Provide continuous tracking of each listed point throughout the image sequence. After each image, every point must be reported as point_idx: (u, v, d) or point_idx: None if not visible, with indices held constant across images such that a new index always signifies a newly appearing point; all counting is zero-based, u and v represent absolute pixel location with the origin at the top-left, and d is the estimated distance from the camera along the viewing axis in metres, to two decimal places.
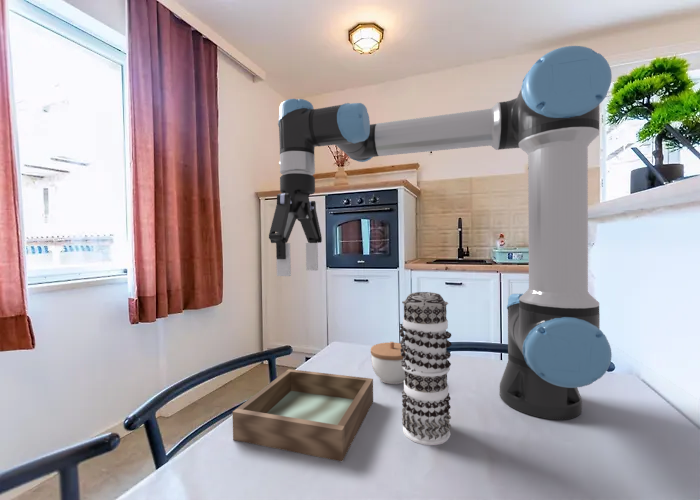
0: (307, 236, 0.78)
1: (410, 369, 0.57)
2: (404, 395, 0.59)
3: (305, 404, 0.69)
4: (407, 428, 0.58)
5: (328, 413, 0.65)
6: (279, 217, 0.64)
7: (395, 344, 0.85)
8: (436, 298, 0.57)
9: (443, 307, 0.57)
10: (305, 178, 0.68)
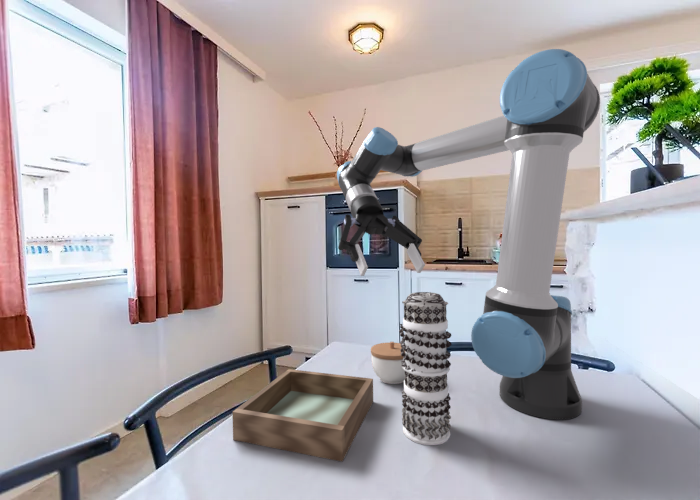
0: (403, 245, 0.77)
1: (410, 369, 0.57)
2: (404, 395, 0.59)
3: (305, 404, 0.69)
4: (407, 428, 0.58)
5: (328, 413, 0.65)
6: None
7: (395, 344, 0.85)
8: (436, 298, 0.57)
9: (443, 307, 0.57)
10: (361, 199, 0.79)
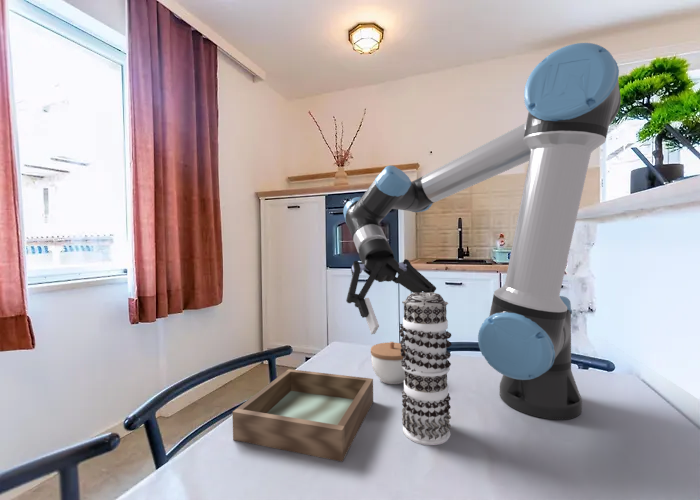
0: None
1: (410, 369, 0.57)
2: (404, 395, 0.59)
3: (305, 404, 0.69)
4: (407, 428, 0.58)
5: (328, 413, 0.65)
6: (351, 282, 0.68)
7: (395, 344, 0.85)
8: (436, 298, 0.57)
9: (443, 307, 0.57)
10: (370, 243, 0.74)
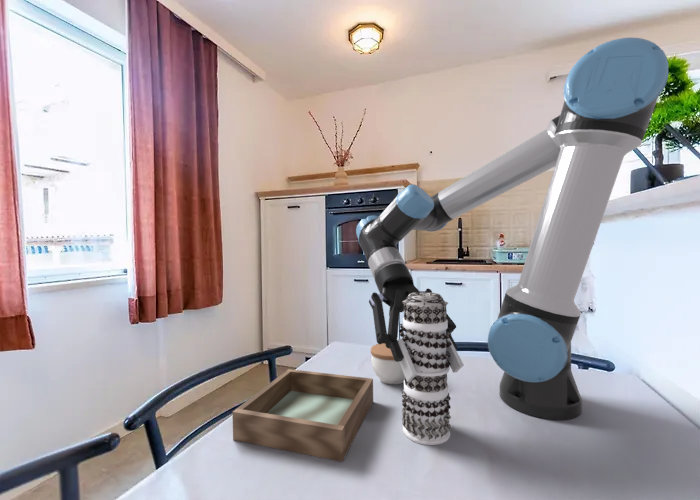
0: None
1: None
2: (404, 395, 0.59)
3: (305, 404, 0.69)
4: (407, 428, 0.58)
5: (328, 413, 0.65)
6: (376, 319, 0.61)
7: None
8: (436, 298, 0.57)
9: (443, 307, 0.57)
10: (388, 268, 0.67)
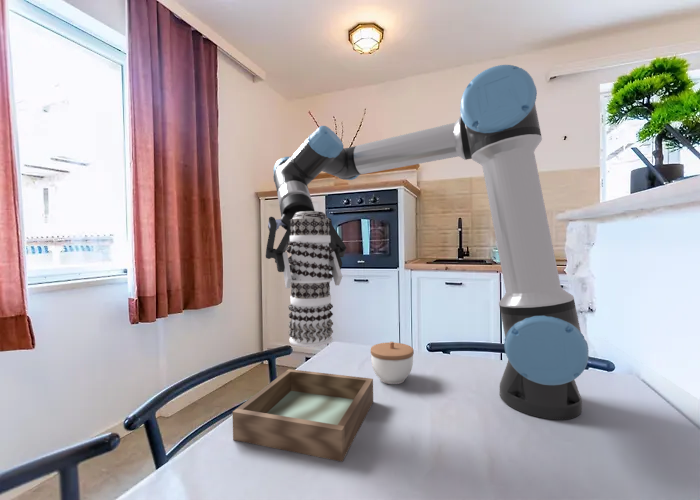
0: None
1: (292, 279, 0.62)
2: (290, 305, 0.64)
3: (305, 404, 0.69)
4: (290, 334, 0.62)
5: (328, 413, 0.65)
6: None
7: (395, 344, 0.85)
8: (316, 213, 0.61)
9: (322, 221, 0.61)
10: (288, 197, 0.72)
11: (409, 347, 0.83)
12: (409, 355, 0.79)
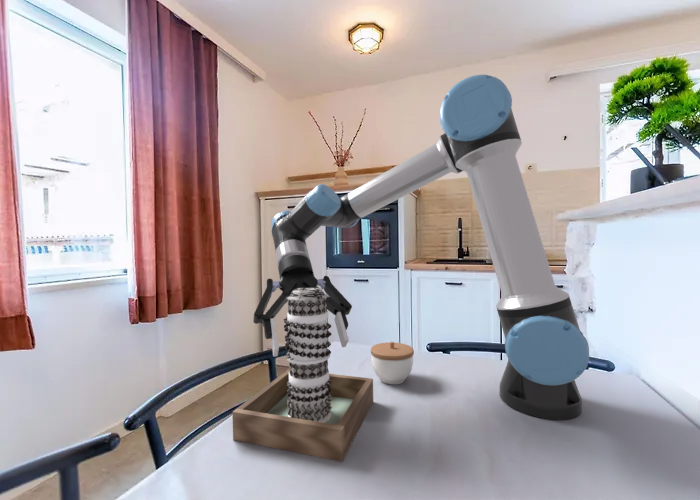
0: (332, 311, 0.70)
1: (290, 358, 0.62)
2: (288, 382, 0.64)
3: None
4: (288, 413, 0.63)
5: None
6: None
7: (395, 344, 0.85)
8: (313, 293, 0.61)
9: (319, 301, 0.62)
10: (287, 259, 0.72)
11: (409, 347, 0.83)
12: (409, 355, 0.79)
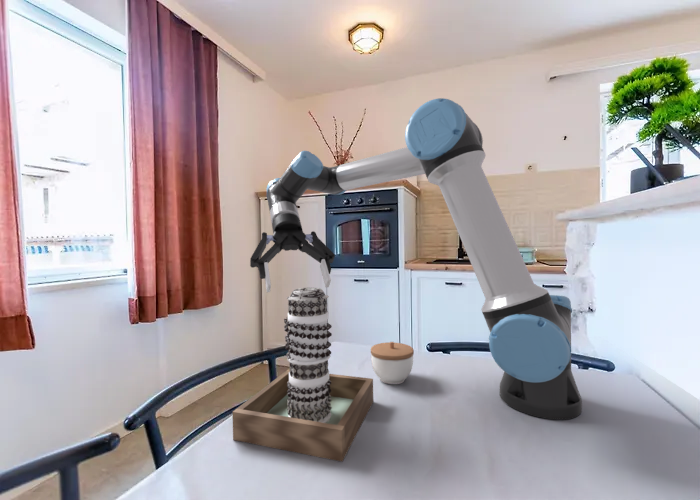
0: (318, 260, 0.82)
1: (290, 358, 0.62)
2: (288, 382, 0.64)
3: None
4: (288, 413, 0.63)
5: None
6: None
7: (395, 344, 0.85)
8: (313, 293, 0.61)
9: (319, 301, 0.61)
10: (279, 217, 0.84)
11: (409, 347, 0.83)
12: (409, 355, 0.79)
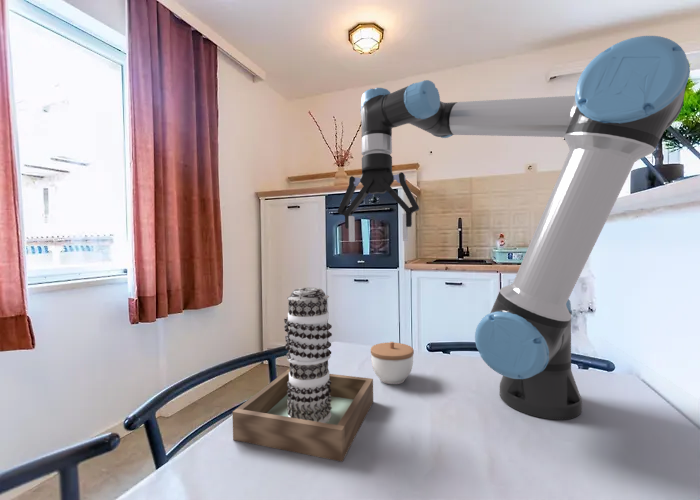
0: None
1: (290, 358, 0.62)
2: (288, 382, 0.64)
3: None
4: (288, 413, 0.63)
5: None
6: None
7: (395, 344, 0.85)
8: (313, 293, 0.61)
9: (320, 301, 0.61)
10: (365, 158, 0.79)
11: (409, 347, 0.83)
12: (409, 355, 0.79)
